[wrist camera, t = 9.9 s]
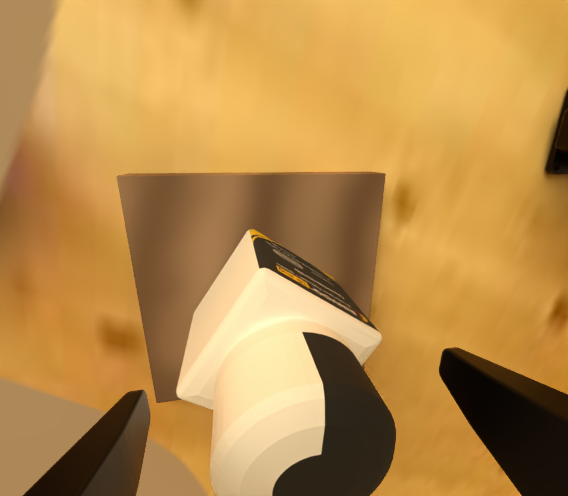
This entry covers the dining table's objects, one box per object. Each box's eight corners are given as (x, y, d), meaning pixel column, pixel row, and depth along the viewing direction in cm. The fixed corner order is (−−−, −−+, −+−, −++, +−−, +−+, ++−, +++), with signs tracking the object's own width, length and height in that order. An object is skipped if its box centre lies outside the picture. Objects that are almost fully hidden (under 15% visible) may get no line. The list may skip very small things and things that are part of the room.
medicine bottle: (335, 277, 20) (469, 434, 9) (279, 353, 21) (334, 577, 10) (249, 225, 18) (284, 346, 7) (191, 313, 19) (137, 544, 8)
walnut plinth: (371, 171, 20) (385, 173, 18) (353, 358, 25) (363, 374, 23) (128, 173, 17) (116, 176, 16) (162, 382, 22) (156, 402, 21)
